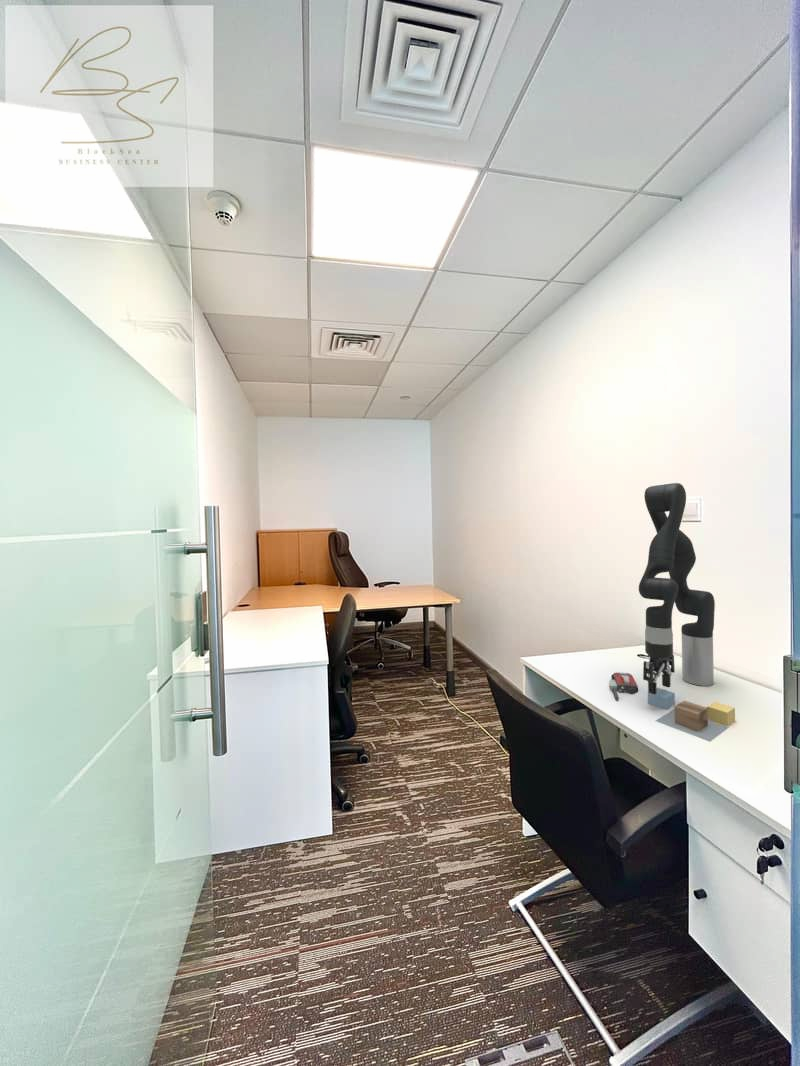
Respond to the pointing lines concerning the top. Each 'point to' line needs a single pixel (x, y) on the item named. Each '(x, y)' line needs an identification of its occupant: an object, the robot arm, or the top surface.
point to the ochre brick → (721, 713)
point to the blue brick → (662, 699)
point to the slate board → (706, 733)
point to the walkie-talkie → (623, 684)
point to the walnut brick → (691, 715)
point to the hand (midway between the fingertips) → (659, 689)
